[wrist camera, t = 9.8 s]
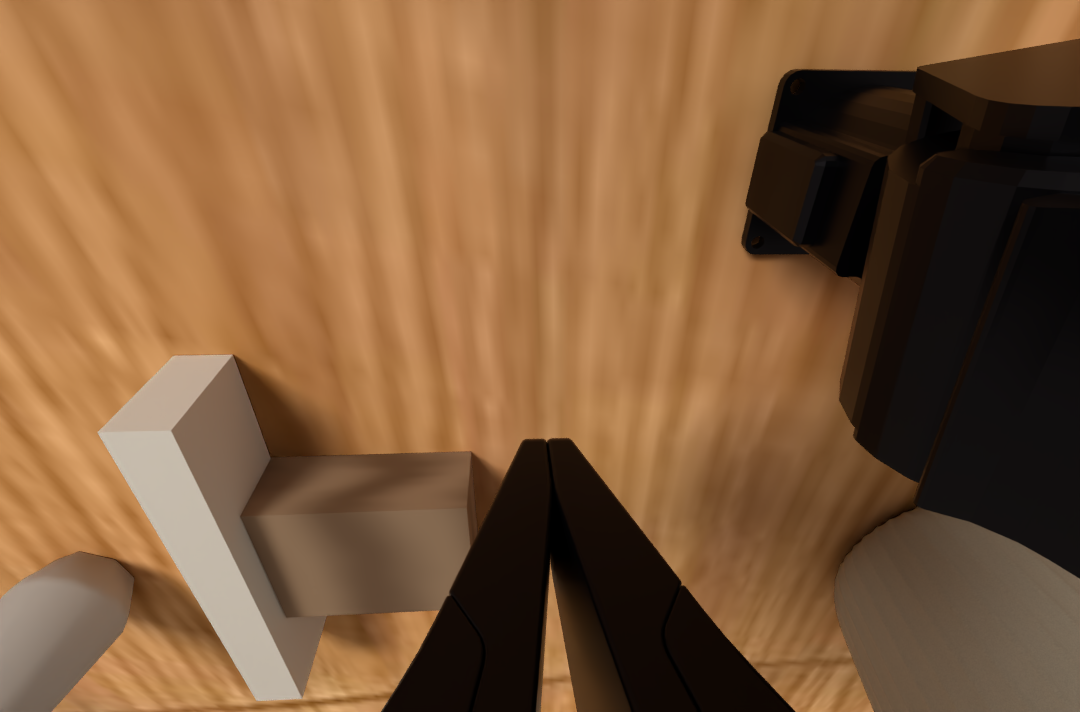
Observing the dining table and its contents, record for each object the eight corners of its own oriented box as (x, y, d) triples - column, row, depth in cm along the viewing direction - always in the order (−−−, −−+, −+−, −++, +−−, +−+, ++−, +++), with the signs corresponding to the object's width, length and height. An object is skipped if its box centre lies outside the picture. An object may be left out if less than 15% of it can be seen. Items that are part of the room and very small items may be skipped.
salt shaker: (166, 568, 30) (-26, 878, 19) (130, 613, 32) (-60, 915, 21) (53, 528, 28) (-238, 855, 17) (23, 580, 30) (-251, 899, 19)
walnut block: (471, 447, 27) (466, 508, 23) (479, 545, 31) (476, 608, 28) (273, 453, 26) (239, 516, 23) (309, 552, 31) (286, 617, 27)
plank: (232, 354, 23) (171, 430, 18) (327, 613, 33) (302, 698, 29) (173, 355, 22) (97, 432, 18) (288, 615, 33) (256, 701, 29)
